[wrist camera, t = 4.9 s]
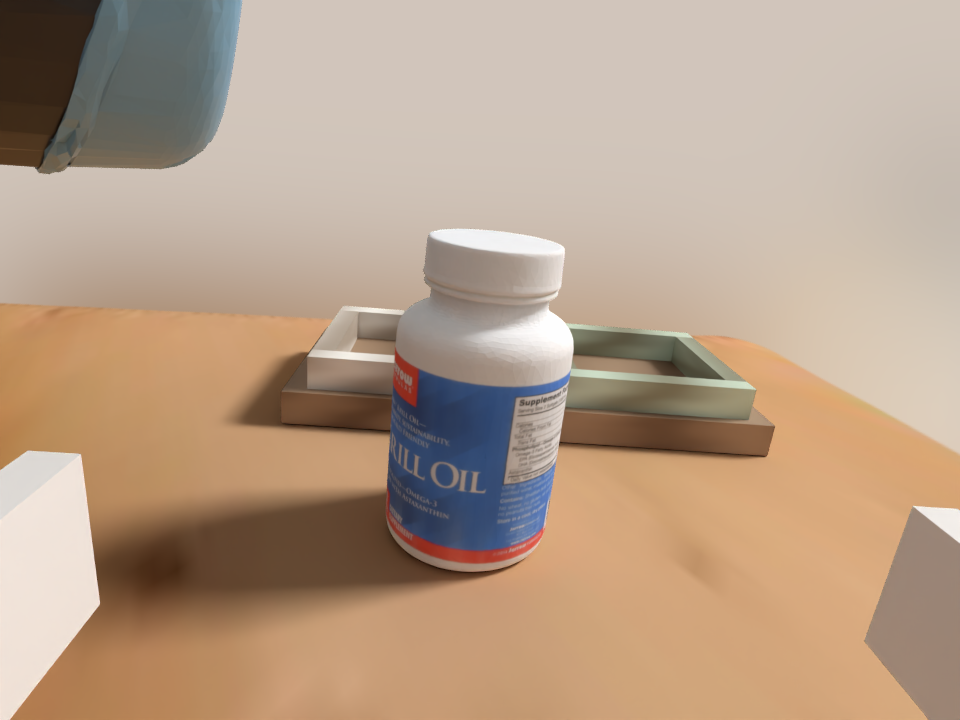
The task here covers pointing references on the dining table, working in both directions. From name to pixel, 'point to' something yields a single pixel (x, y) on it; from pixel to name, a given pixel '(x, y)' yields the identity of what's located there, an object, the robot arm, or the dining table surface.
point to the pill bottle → (478, 401)
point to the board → (590, 396)
